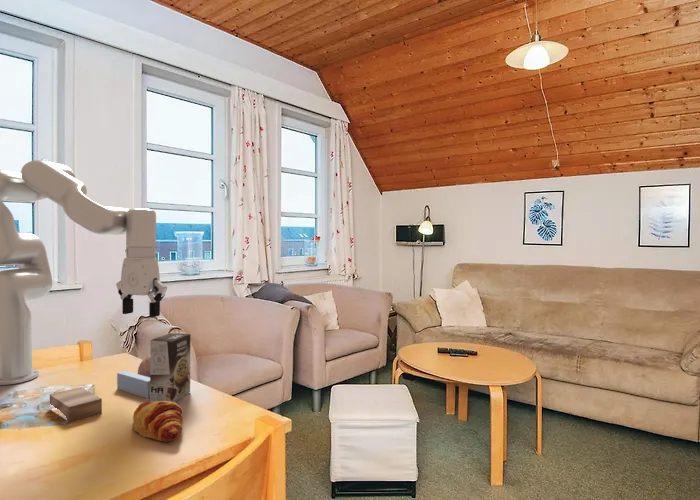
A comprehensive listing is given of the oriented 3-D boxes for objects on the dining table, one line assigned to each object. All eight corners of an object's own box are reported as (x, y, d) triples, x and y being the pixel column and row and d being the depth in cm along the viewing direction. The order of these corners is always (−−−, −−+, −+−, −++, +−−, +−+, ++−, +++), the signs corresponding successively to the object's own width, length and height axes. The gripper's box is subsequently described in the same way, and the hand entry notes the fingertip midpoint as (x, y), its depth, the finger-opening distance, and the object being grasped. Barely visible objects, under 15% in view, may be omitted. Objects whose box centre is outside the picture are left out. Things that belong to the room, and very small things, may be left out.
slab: (49, 410, 112) (49, 394, 111) (81, 402, 117) (80, 387, 117) (69, 424, 104) (69, 407, 104) (101, 415, 109) (101, 398, 109)
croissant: (130, 432, 108) (112, 406, 105) (168, 403, 114) (152, 378, 111) (163, 465, 92) (143, 435, 89) (205, 429, 98) (188, 401, 95)
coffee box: (171, 404, 116) (172, 341, 115) (149, 402, 117) (149, 339, 116) (191, 392, 125) (191, 333, 124) (170, 390, 126) (170, 332, 125)
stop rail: (117, 388, 126) (117, 372, 126) (125, 386, 129) (125, 370, 128) (147, 398, 120) (147, 381, 120) (155, 395, 122) (155, 379, 122)
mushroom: (164, 385, 130) (164, 357, 129) (140, 389, 126) (140, 360, 126) (159, 378, 136) (159, 351, 136) (136, 381, 133) (136, 354, 132)
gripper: (106, 252, 127) (106, 314, 128) (155, 255, 120) (154, 320, 121) (128, 251, 134) (128, 310, 134) (175, 254, 127) (175, 315, 128)
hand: (141, 314), depth 128 cm, fingers open, 9 cm apart
